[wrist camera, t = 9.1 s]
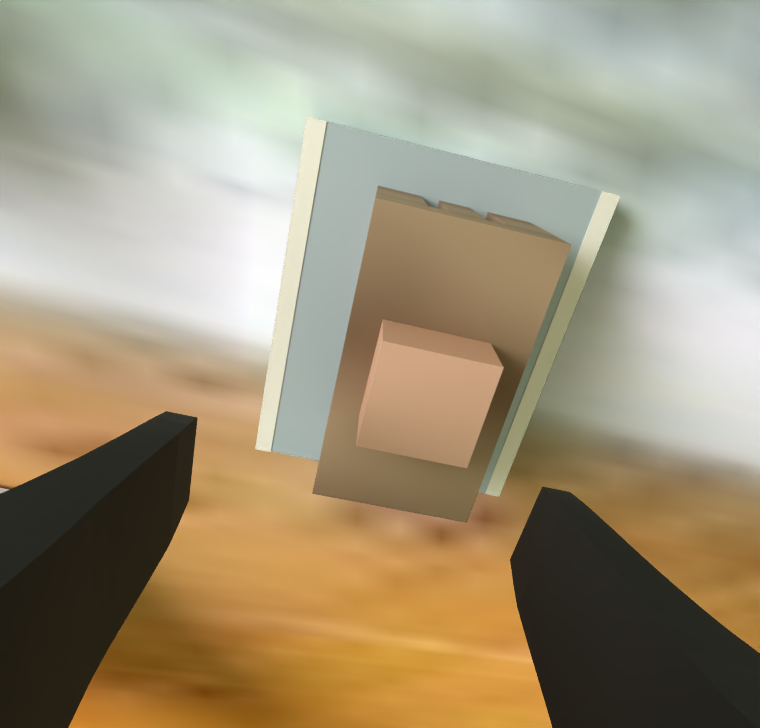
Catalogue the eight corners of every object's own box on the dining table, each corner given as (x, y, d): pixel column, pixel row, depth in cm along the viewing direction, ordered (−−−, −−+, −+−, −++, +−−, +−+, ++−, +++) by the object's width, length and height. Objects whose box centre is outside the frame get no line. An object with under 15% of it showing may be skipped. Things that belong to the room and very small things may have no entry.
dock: (489, 467, 22) (499, 496, 20) (266, 422, 22) (255, 449, 20) (595, 190, 18) (620, 196, 16) (315, 119, 17) (306, 116, 15)
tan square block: (458, 436, 15) (467, 468, 13) (359, 415, 14) (356, 445, 13) (490, 343, 14) (503, 367, 12) (382, 319, 13) (382, 341, 12)
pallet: (451, 452, 20) (466, 522, 16) (326, 427, 19) (312, 493, 16) (529, 222, 16) (571, 244, 12) (377, 185, 16) (375, 197, 12)
